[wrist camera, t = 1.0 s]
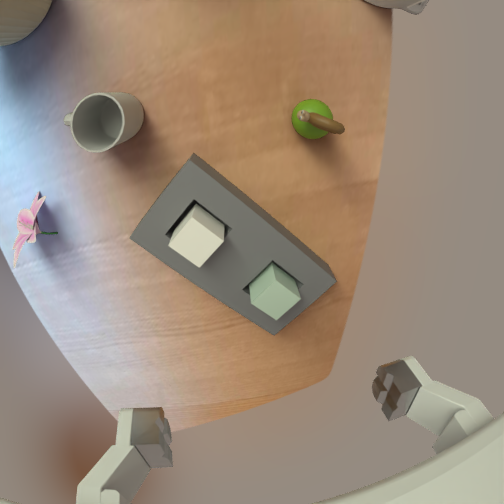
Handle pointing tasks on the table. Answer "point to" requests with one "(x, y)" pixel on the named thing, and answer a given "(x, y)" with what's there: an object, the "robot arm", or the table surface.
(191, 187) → the key console
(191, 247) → the white key
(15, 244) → the lily
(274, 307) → the pale green cube
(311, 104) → the snail figurine
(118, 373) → the table surface
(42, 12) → the canister
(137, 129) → the cup
